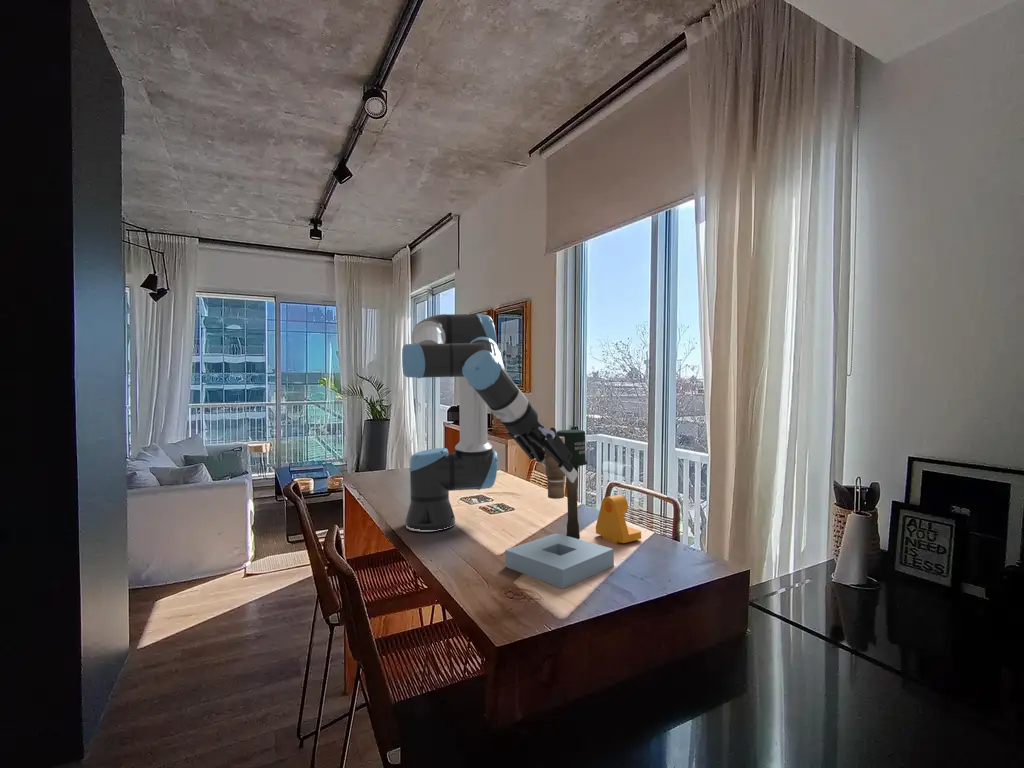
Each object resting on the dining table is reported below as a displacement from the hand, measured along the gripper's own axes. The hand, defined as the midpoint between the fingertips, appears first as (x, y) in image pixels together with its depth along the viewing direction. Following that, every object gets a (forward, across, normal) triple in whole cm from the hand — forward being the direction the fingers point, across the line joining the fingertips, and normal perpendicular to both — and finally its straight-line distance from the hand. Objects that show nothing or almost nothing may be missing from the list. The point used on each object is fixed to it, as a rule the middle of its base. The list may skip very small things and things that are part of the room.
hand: (566, 476), depth 119 cm
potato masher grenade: (+24, -10, -5) cm, 27 cm away
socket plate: (+12, 0, -17) cm, 21 cm away
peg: (0, 0, -6) cm, 6 cm away
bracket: (+31, -2, +2) cm, 32 cm away
